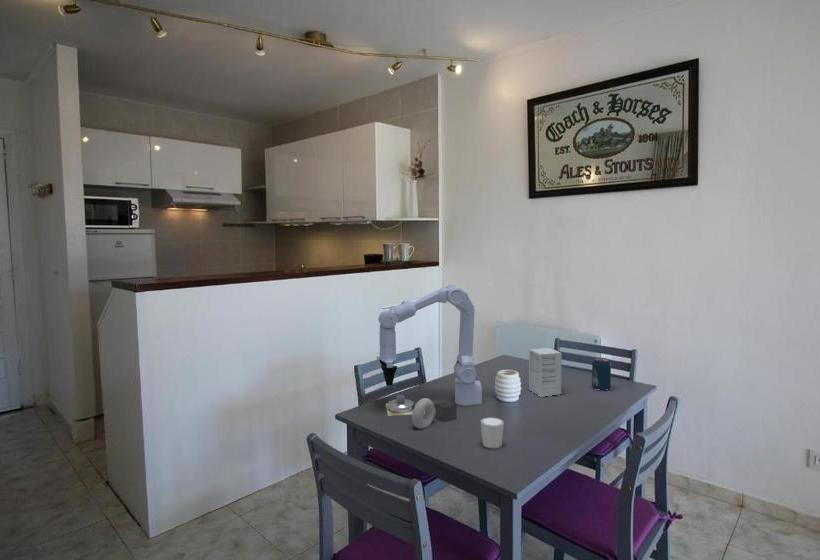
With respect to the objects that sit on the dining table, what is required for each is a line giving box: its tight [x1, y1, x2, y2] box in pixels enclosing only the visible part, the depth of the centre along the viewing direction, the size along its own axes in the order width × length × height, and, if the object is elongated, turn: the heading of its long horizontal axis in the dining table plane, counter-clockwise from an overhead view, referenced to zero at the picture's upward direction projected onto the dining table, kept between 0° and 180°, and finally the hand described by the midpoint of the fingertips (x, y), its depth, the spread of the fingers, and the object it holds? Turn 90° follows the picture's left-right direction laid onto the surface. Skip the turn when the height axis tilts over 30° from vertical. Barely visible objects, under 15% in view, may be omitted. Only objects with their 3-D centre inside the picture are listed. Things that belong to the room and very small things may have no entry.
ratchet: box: [387, 394, 447, 413], centre depth 169 cm, size 21×9×4 cm, turn 97°
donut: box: [411, 397, 436, 430], centre depth 153 cm, size 10×4×10 cm, turn 142°
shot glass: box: [480, 416, 505, 449], centre depth 141 cm, size 7×7×7 cm
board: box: [384, 402, 436, 417], centre depth 169 cm, size 22×12×1 cm, turn 97°
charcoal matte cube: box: [435, 400, 458, 423], centre depth 159 cm, size 5×5×6 cm
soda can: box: [591, 357, 612, 390], centre depth 190 cm, size 7×7×12 cm
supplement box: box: [528, 347, 563, 398], centre depth 186 cm, size 10×9×17 cm
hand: (388, 382), depth 170 cm, fingers open, 7 cm apart
